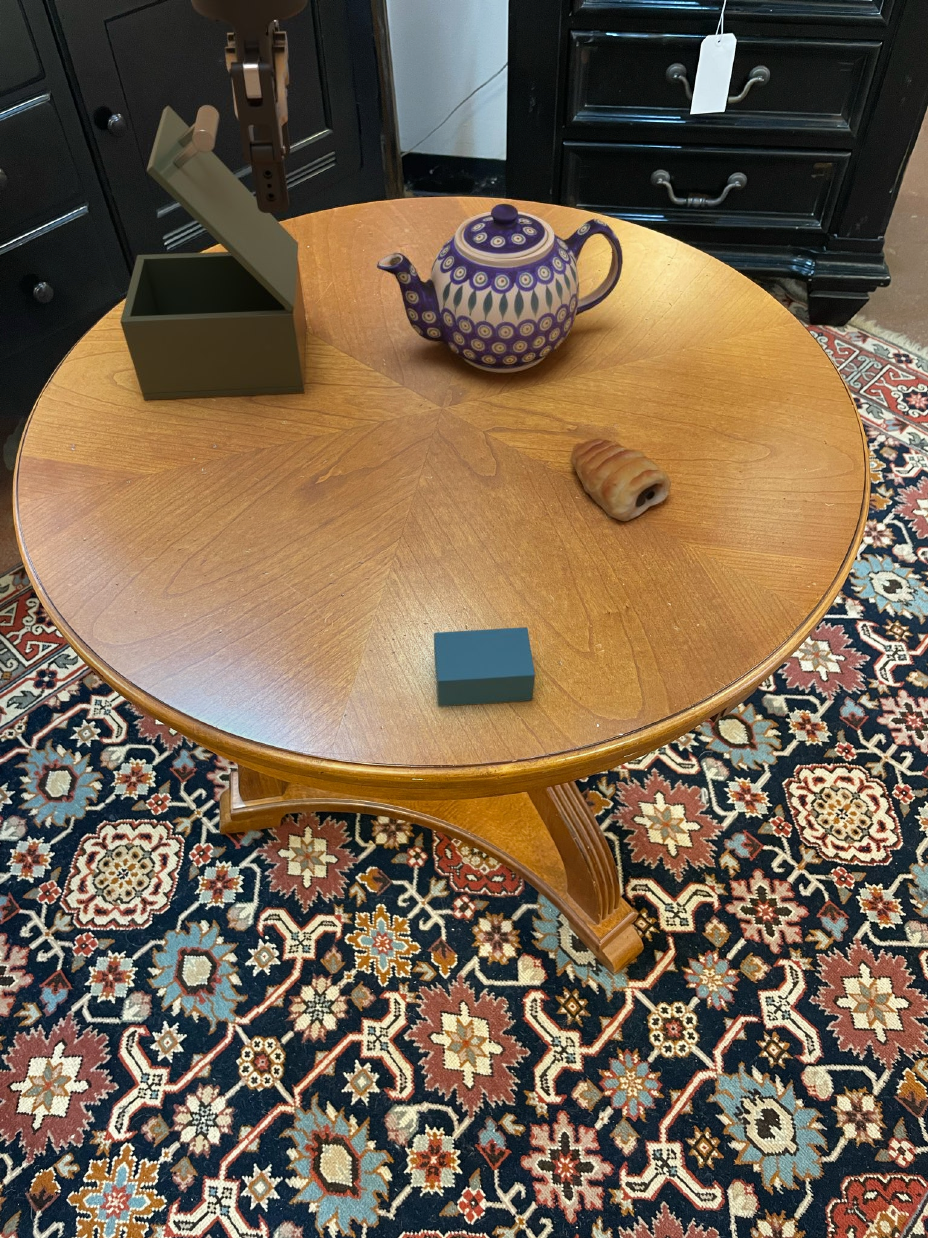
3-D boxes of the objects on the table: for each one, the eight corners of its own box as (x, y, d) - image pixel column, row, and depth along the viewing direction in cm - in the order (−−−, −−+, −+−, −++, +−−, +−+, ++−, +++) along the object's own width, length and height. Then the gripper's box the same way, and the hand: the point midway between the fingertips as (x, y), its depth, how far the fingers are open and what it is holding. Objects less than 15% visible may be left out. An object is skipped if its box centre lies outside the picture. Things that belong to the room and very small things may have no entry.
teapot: (592, 292, 106) (608, 157, 95) (637, 370, 97) (662, 231, 86) (370, 319, 103) (359, 182, 91) (396, 403, 93) (387, 263, 82)
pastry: (550, 471, 87) (554, 438, 84) (606, 443, 90) (611, 410, 87) (621, 529, 82) (627, 496, 79) (676, 498, 85) (685, 465, 82)
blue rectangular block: (438, 706, 70) (437, 681, 68) (434, 658, 73) (433, 632, 71) (532, 700, 71) (535, 675, 68) (525, 652, 74) (527, 626, 71)
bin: (144, 400, 93) (119, 321, 87) (158, 332, 101) (137, 254, 94) (304, 393, 94) (292, 314, 88) (307, 326, 102) (296, 248, 95)
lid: (145, 171, 77) (188, 132, 75) (163, 109, 84) (201, 73, 82) (289, 312, 87) (329, 281, 85) (293, 247, 95) (330, 217, 93)
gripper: (186, -112, 63) (229, 142, 75) (166, -44, 54) (218, 232, 66) (301, -113, 63) (325, 138, 76) (300, -46, 54) (327, 228, 67)
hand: (275, 182), depth 71 cm, fingers open, 8 cm apart
